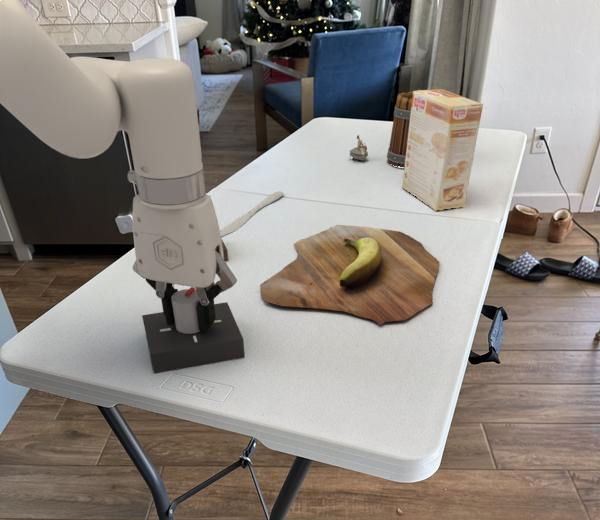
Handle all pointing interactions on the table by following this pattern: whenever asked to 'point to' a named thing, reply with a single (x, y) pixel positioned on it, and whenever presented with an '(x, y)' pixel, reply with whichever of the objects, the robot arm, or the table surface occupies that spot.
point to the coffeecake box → (441, 147)
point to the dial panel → (192, 341)
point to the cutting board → (357, 274)
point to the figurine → (359, 151)
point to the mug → (400, 130)
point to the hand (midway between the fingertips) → (190, 322)
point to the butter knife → (250, 214)
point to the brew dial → (186, 310)
